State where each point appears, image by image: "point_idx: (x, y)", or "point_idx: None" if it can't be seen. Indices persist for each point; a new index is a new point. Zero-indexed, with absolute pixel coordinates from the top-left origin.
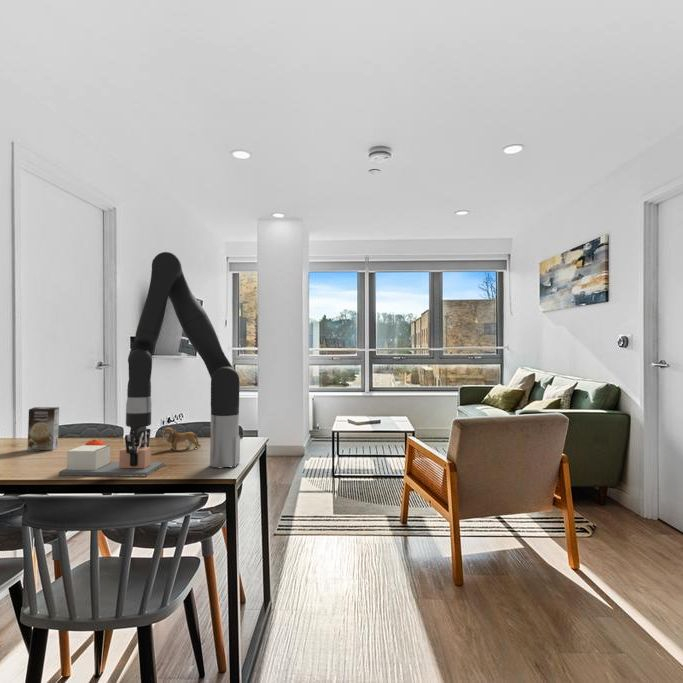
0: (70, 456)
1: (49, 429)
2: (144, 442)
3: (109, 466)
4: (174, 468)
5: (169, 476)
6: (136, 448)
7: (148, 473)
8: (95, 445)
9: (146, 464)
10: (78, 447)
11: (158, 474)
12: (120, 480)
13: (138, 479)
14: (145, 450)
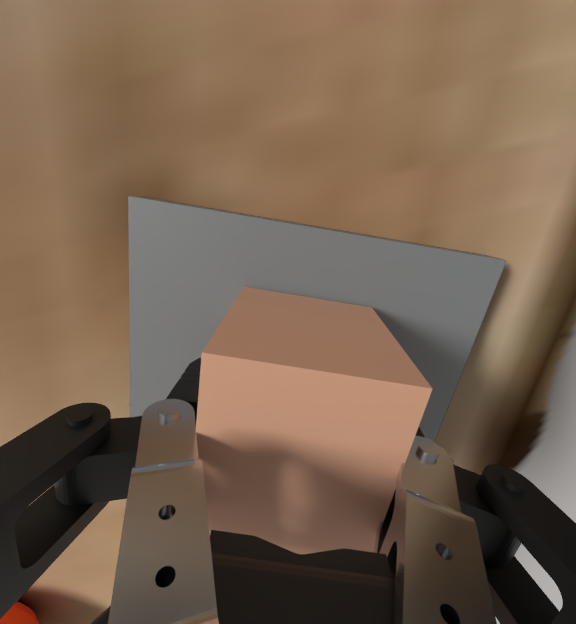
0: None
1: None
2: (199, 496)
3: None
4: (247, 69)
5: (550, 51)
6: (458, 504)
7: (462, 252)
8: None
9: (340, 308)
10: None
11: (444, 176)
12: (536, 393)
13: (554, 293)
14: (409, 382)
